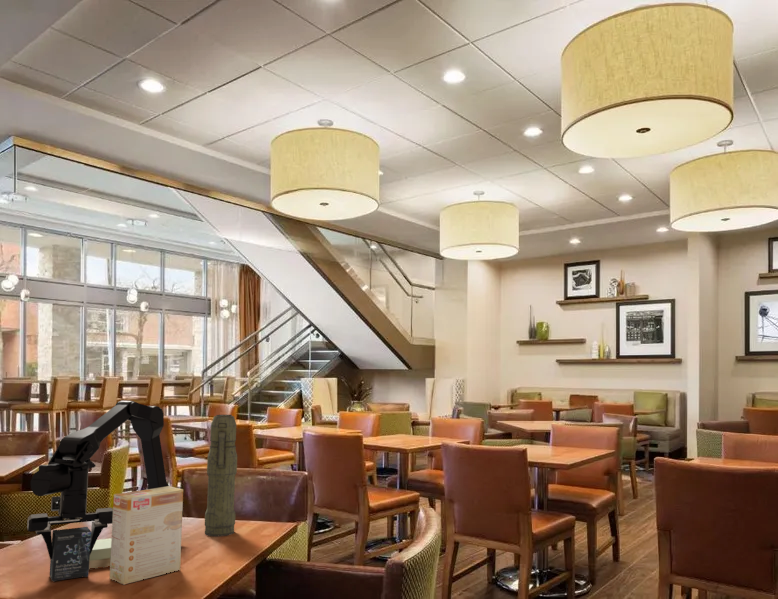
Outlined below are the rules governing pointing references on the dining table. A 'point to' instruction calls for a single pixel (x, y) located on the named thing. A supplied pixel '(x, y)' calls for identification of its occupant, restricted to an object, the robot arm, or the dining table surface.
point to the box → (70, 553)
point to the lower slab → (99, 563)
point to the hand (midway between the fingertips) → (70, 556)
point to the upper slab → (101, 549)
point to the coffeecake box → (146, 534)
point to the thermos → (221, 477)
